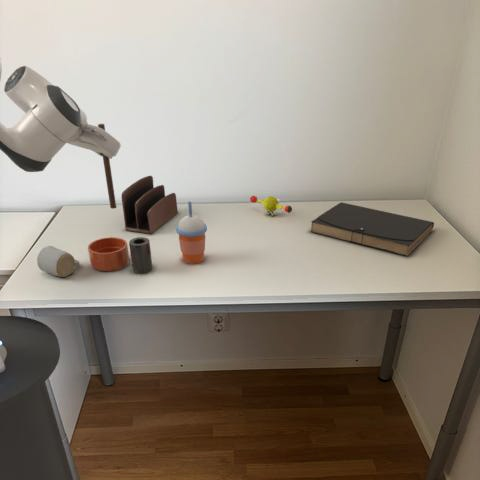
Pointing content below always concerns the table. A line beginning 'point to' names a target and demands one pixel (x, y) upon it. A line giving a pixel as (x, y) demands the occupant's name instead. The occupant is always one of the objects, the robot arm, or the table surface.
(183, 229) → the cup with straw
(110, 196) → the stick
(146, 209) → the letter holder
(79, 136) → the robot arm
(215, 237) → the table surface
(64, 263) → the ceramic mug
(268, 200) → the toy figure
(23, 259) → the table surface
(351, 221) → the black book
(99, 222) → the table surface
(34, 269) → the table surface
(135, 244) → the tube
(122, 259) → the bowl
